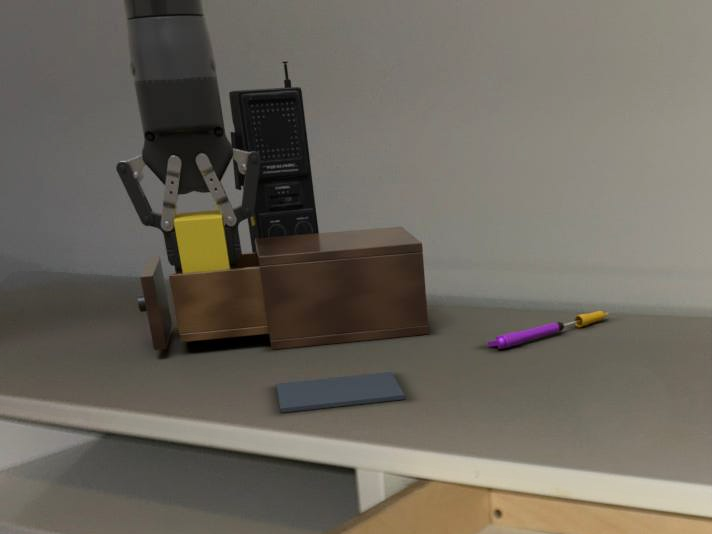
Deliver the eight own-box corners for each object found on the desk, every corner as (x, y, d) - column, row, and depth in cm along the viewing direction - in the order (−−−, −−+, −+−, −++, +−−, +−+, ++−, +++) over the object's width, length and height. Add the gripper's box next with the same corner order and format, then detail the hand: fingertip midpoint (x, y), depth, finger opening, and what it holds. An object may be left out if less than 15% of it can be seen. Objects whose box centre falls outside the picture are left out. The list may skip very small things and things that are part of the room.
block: (192, 328, 106) (173, 220, 101) (194, 315, 112) (176, 213, 107) (238, 324, 106) (221, 217, 102) (237, 311, 112) (222, 209, 108)
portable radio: (263, 321, 118) (226, 64, 106) (250, 312, 123) (212, 65, 111) (331, 311, 121) (302, 60, 109) (315, 303, 125) (286, 61, 114)
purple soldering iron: (503, 349, 99) (612, 318, 109) (501, 335, 99) (609, 307, 108) (484, 352, 101) (592, 322, 111) (481, 339, 100) (590, 310, 110)
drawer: (141, 351, 103) (126, 277, 100) (149, 326, 114) (136, 258, 111) (305, 335, 106) (295, 263, 102) (297, 312, 116) (289, 245, 113)
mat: (281, 412, 85) (280, 408, 85) (276, 388, 92) (276, 383, 92) (405, 399, 86) (404, 394, 86) (391, 376, 93) (391, 371, 93)
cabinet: (271, 349, 105) (258, 256, 101) (266, 322, 117) (254, 238, 113) (428, 334, 107) (422, 242, 103) (408, 309, 119) (401, 226, 115)
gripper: (252, 70, 103) (277, 256, 111) (99, 79, 101) (136, 268, 109) (254, 70, 97) (280, 267, 105) (90, 79, 94) (130, 280, 102)
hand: (206, 266), depth 107 cm, fingers closed on block, 4 cm apart
